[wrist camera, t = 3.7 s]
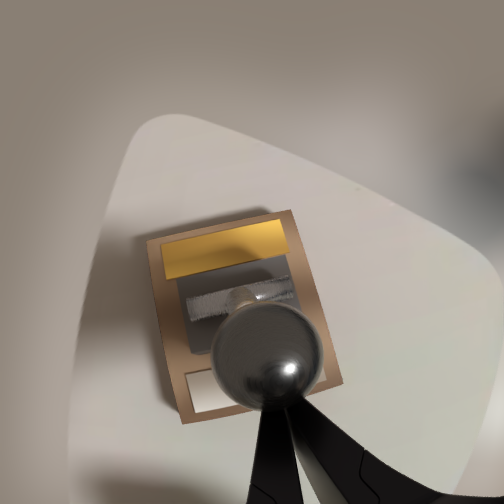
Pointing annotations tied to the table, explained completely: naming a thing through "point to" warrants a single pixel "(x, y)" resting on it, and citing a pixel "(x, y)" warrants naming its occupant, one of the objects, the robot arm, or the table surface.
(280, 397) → the lever
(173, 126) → the table surface
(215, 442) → the table surface
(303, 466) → the robot arm
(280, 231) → the switch unit
